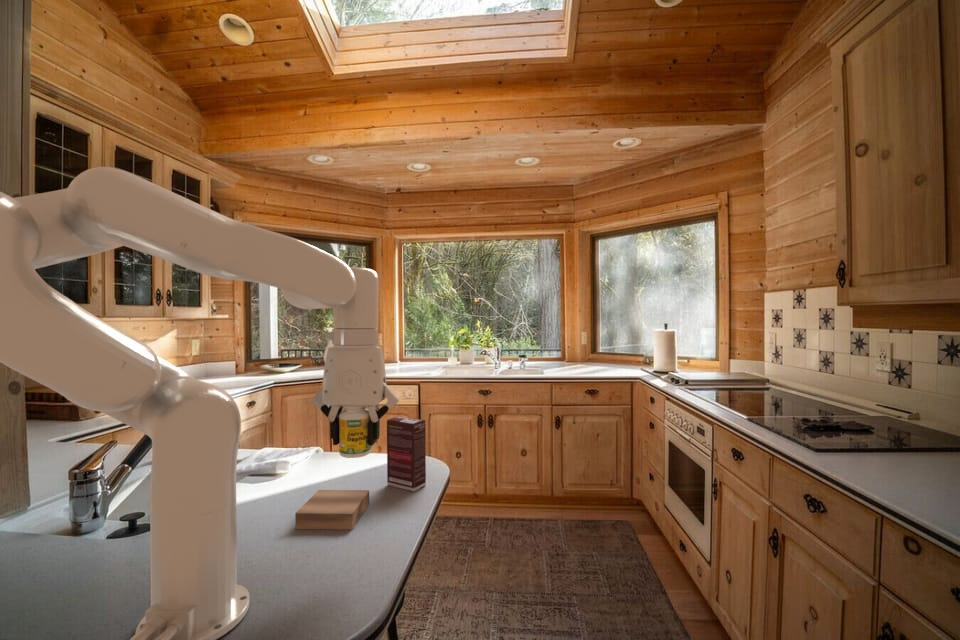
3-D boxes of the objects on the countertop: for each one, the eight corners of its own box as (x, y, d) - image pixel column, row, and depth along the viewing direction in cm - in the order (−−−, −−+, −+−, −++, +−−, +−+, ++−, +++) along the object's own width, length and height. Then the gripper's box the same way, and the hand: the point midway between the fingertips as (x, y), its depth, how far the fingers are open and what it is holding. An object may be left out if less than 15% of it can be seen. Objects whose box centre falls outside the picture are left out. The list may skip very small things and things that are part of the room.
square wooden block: (352, 529, 81) (352, 513, 81) (295, 529, 81) (295, 513, 81) (369, 504, 92) (369, 490, 92) (318, 503, 92) (318, 489, 92)
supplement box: (426, 485, 102) (426, 419, 102) (414, 492, 98) (413, 423, 98) (399, 478, 106) (399, 415, 106) (386, 485, 102) (385, 419, 102)
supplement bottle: (365, 447, 78) (365, 395, 78) (375, 455, 73) (375, 399, 73) (335, 452, 75) (335, 397, 75) (343, 460, 70) (344, 402, 70)
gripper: (297, 339, 70) (296, 449, 70) (400, 340, 70) (399, 450, 70) (316, 338, 78) (315, 436, 78) (409, 338, 77) (408, 438, 77)
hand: (355, 442), depth 74 cm, fingers closed on supplement bottle, 5 cm apart
